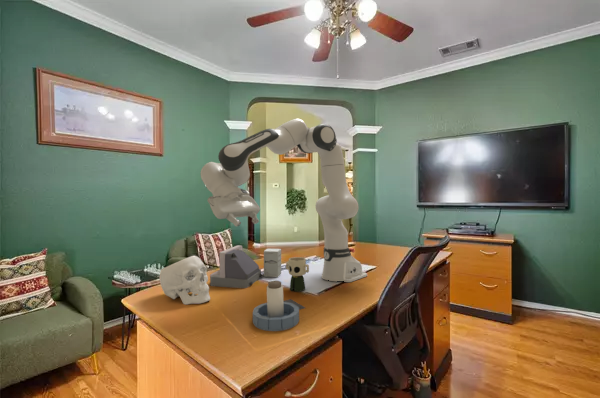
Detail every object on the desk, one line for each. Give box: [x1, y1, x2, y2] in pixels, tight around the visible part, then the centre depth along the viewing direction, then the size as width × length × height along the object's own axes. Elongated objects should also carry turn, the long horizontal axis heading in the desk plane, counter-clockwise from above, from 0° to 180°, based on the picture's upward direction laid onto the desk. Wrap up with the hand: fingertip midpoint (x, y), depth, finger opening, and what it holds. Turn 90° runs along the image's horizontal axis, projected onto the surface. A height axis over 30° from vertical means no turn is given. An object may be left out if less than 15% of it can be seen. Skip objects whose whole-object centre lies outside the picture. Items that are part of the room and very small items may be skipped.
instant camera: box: [209, 245, 263, 289], centre depth 131 cm, size 21×21×15 cm
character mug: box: [285, 256, 310, 292], centre depth 116 cm, size 11×7×13 cm, turn 59°
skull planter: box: [159, 255, 211, 305], centre depth 108 cm, size 14×20×19 cm
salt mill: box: [266, 280, 284, 318], centre depth 87 cm, size 5×5×11 cm
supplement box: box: [263, 248, 282, 278], centre depth 139 cm, size 7×7×13 cm
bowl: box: [252, 302, 300, 332], centre depth 87 cm, size 14×14×4 cm
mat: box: [283, 298, 306, 311], centre depth 99 cm, size 10×10×1 cm
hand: (248, 223), depth 101 cm, fingers open, 8 cm apart
